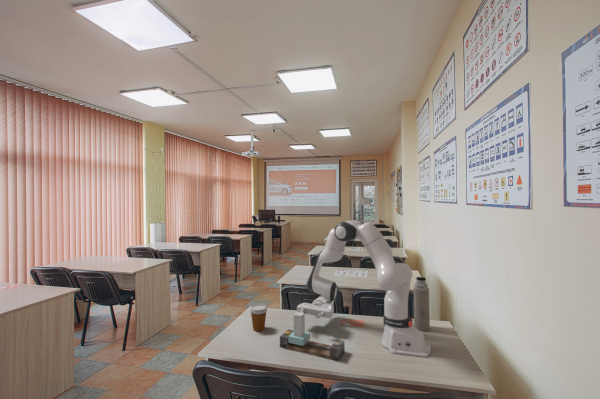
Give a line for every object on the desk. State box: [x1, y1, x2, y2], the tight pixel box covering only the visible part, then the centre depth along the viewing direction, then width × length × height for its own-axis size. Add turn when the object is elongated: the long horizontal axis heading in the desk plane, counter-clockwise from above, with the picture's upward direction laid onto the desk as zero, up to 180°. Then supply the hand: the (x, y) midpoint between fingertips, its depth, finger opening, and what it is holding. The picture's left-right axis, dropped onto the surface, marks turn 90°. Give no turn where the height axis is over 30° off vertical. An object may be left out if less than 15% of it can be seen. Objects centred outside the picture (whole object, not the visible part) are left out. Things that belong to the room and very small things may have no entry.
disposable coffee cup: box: [249, 304, 268, 332], centre depth 162 cm, size 10×10×12 cm
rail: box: [279, 328, 346, 362], centre depth 138 cm, size 30×9×6 cm, turn 64°
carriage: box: [288, 312, 311, 346], centre depth 141 cm, size 8×8×13 cm
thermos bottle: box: [412, 276, 431, 332], centre depth 160 cm, size 8×8×28 cm
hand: (309, 315), depth 152 cm, fingers open, 8 cm apart
